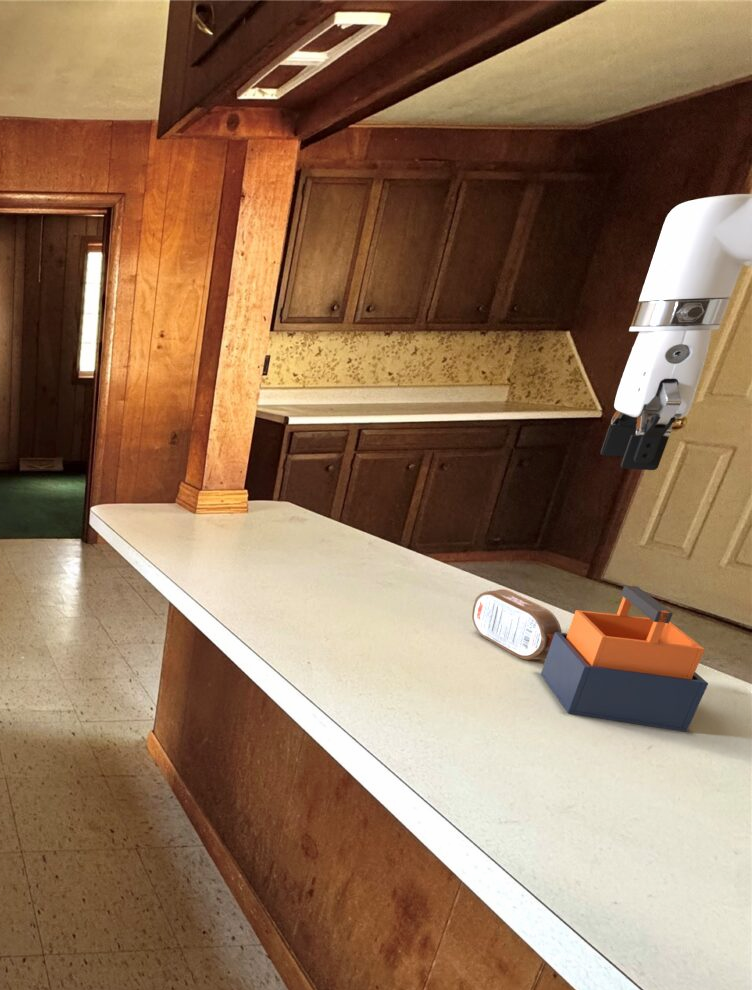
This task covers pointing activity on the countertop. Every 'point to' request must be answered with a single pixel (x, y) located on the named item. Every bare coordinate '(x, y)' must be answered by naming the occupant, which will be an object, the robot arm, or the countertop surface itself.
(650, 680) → the bin outer
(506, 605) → the tin
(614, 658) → the basket
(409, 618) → the countertop surface
